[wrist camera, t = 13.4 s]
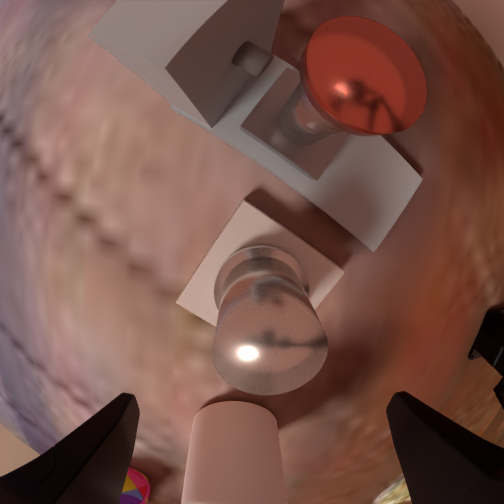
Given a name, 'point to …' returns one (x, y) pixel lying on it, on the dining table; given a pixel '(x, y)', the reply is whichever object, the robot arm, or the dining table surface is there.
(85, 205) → the dining table surface
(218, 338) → the knob
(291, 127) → the ball-topped lever
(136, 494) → the pencil case
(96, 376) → the dining table surface
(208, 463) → the beige cylinder
